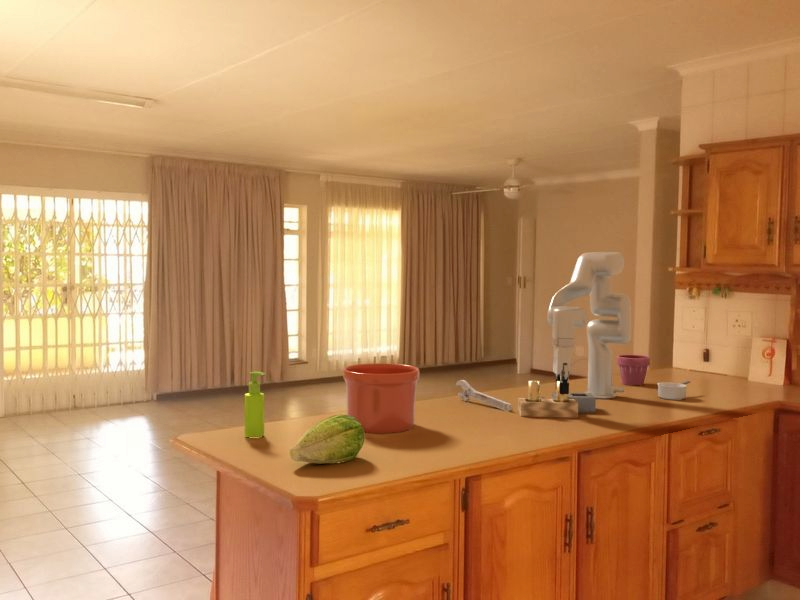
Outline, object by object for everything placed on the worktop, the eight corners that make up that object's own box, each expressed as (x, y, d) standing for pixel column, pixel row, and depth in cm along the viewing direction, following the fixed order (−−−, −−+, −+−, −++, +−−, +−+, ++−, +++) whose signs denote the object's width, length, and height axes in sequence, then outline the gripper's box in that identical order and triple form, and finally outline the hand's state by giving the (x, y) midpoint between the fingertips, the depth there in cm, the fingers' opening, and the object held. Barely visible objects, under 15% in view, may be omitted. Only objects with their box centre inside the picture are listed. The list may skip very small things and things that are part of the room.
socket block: (589, 407, 269) (589, 392, 268) (595, 412, 259) (595, 397, 258) (552, 406, 269) (552, 392, 269) (556, 411, 259) (556, 396, 259)
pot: (332, 421, 240) (333, 365, 240) (400, 415, 250) (401, 361, 249) (358, 438, 217) (358, 376, 217) (431, 431, 227) (432, 371, 226)
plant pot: (611, 381, 329) (612, 354, 328) (640, 381, 331) (641, 354, 330) (624, 387, 315) (625, 358, 314) (654, 386, 316) (655, 358, 316)
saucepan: (702, 396, 294) (702, 382, 294) (678, 402, 281) (678, 388, 281) (675, 392, 303) (675, 379, 303) (651, 397, 290) (651, 384, 290)
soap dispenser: (257, 440, 214) (257, 374, 213) (240, 437, 217) (240, 372, 216) (270, 436, 219) (270, 371, 218) (254, 433, 222) (254, 369, 221)
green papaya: (272, 441, 190) (293, 421, 180) (337, 420, 204) (360, 401, 195) (290, 486, 186) (313, 469, 176) (356, 461, 200) (380, 444, 191)
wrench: (508, 419, 259) (454, 397, 282) (511, 419, 260) (457, 397, 283) (510, 398, 258) (456, 378, 281) (513, 398, 259) (459, 378, 282)
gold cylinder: (566, 413, 256) (567, 380, 256) (568, 416, 252) (569, 382, 252) (555, 413, 257) (555, 380, 256) (556, 415, 253) (557, 382, 252)
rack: (573, 412, 258) (573, 399, 258) (577, 417, 250) (578, 403, 250) (518, 411, 259) (518, 398, 259) (520, 416, 251) (520, 402, 251)
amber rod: (538, 413, 257) (538, 380, 256) (539, 415, 253) (540, 382, 252) (527, 413, 257) (527, 380, 256) (528, 415, 253) (529, 381, 252)
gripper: (548, 340, 262) (547, 387, 263) (556, 345, 245) (555, 396, 245) (569, 340, 262) (568, 388, 262) (578, 345, 244) (577, 396, 245)
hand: (562, 391), depth 254 cm, fingers open, 7 cm apart
